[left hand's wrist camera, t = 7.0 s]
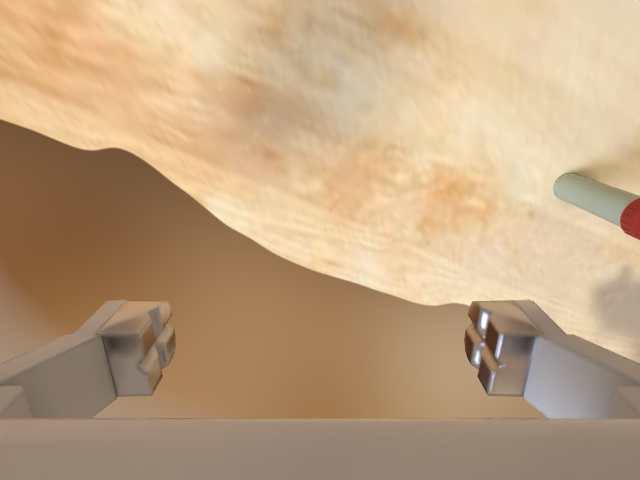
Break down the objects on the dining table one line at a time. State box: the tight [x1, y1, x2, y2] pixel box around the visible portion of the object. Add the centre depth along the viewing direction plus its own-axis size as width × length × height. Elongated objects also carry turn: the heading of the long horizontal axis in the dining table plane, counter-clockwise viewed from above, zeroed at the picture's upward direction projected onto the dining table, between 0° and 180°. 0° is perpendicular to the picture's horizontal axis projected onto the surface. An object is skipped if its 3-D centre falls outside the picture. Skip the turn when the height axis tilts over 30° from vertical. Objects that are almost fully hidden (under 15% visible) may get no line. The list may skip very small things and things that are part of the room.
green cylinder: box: [554, 173, 640, 227], centre depth 51 cm, size 4×4×16 cm
